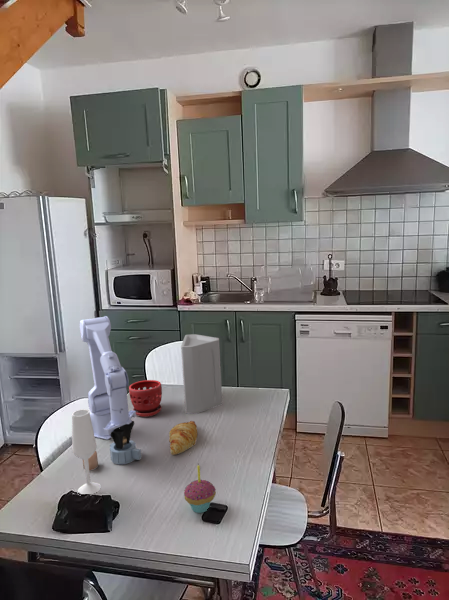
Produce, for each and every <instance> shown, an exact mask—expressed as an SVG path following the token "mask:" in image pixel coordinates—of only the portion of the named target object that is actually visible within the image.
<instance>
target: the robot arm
mask: <svg viewBox="0 0 449 600" xmlns="http://www.w3.org/2000/svg"><path fill="white" fill-rule="evenodd" d="M79 331H80V337H81V340H82V342H84V343H87V347H88V351H89V357H90V364H91V370H92V379H93V384H94V385H93V387H92V388H91V389H90V390H89V391H88V393H87V404H88V410H89V412H90V417H91V422H92V426H93V431H94V436H95V438H98V439H102V440H110V439H112V441H113V443H115V446H116V448H118V449H122V448H123V437H127V444H128V443H129V441H130V439H131V435H132V431H133V428H134V425H135V421H134V420H133V418H135V417H137V415H136V411H133V409H132V410H129V402H128V401H129V400H128V392H127V387H128V388H129V375H128V373H127V371H126V368H124V367H123V366H122V364H121V363H120V360H119V356H118V355H117V353H116V352H114V351H112V347H111V342H110V339H109V336H110V335H111V334H110V332H111V331H112V323H111V321H110V318H109V317H108V316H107V315H104V316H102V317H101V316H100V317H94V318H86V319H81V320H80V321H79Z"/></svg>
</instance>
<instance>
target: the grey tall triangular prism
mask: <svg viewBox="0 0 449 600" xmlns="http://www.w3.org/2000/svg"><path fill="white" fill-rule="evenodd" d="M180 351H181V354H180V355H181V363H182V366H181V367H182V380H183V383H182V384H183V395H184V397H183V398H184V408H185V409H184V410H185V411H184V412H185V414H186V415H195V414H199V413H200V414H201V413H202V412H205V411H207V410H211V409H213V408H215V407H218V406H222V405H223V390H222V389H223V388H222V372H221V371H222V370H221V367H222V366H221V352H220V351H221V350H220V338H219V337H215V336H214V337H213V336H208V335H204V334H202V335H201V334H195V333H192V334H191V333H190V334H185V335H184V338H183V340H182V343H181V346H180Z"/></svg>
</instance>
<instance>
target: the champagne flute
mask: <svg viewBox="0 0 449 600" xmlns="http://www.w3.org/2000/svg"><path fill="white" fill-rule="evenodd" d="M71 436H72V437H71V440H72V441H71V443H72V449H71V450H72V453H73V455H74V456H76V457H77V458H78V459H80V460H82V461H83V460H84V466H85V470H84V474H85V483H83V485H81V486H80V487H78V489H77V491H78V492H80V493H81V494H92V493H95V494H97V493H98V492H99V491H100V490H101V489H100V488H102V486H101V484H100V483H99V482H93V481H91V473H90V472H91V471H90V470H89V463H88V459H89V458H90V457H91V456H92V455H93V454H94V452H95V451H96V450H97V447H98V445H97V441H96V437H95V436H94V431H93V426H92V422H91V417H90V409H85V408H83V409H78V410H75V411H73V412H72V413H71ZM78 492H77V493H78ZM96 492H97V493H96Z"/></svg>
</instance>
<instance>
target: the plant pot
mask: <svg viewBox="0 0 449 600" xmlns="http://www.w3.org/2000/svg"><path fill="white" fill-rule="evenodd" d="M144 388H145V389H144ZM128 392H129V398H130V402H131V405H132V407H133V409H132V410H133V411H136V417H138V416H139V417H144V418H145V417H146V418H147V417H152V416H153V417H154V416H156V415H157V414H159V413H160V412H161V411H162V409H163V408H162V405H161V402H162V395H163V388H162V383H161V381H159V380H155V379H148V380H147V379H145V380H140V381H136V382H133V383H132V384H130V385H128Z"/></svg>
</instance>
